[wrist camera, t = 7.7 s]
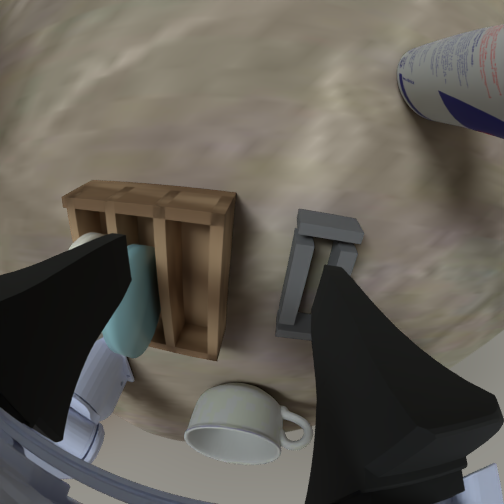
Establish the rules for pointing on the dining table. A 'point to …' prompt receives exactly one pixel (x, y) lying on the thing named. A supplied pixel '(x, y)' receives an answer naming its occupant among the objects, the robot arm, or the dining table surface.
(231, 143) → the dining table surface
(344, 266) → the rubber holder
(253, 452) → the teacup
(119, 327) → the teal plate
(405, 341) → the robot arm
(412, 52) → the energy drink
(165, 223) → the walnut rack
